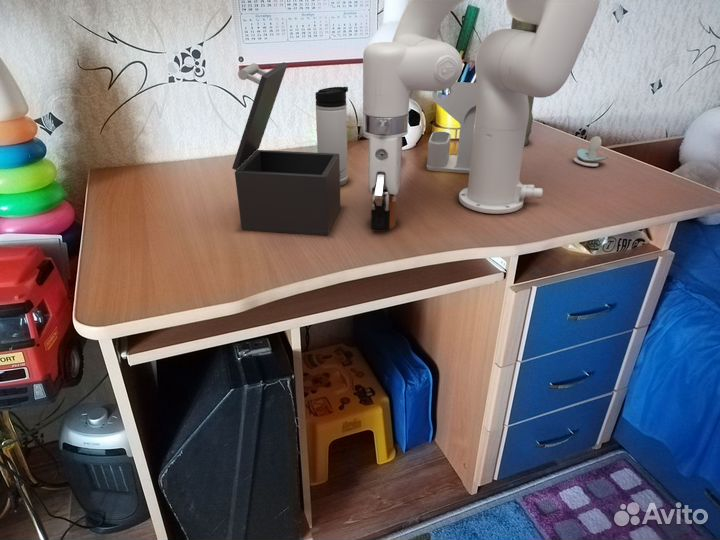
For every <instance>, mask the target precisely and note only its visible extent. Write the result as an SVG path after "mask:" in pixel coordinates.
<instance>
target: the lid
mask: <svg viewBox="0 0 720 540" xmlns="http://www.w3.org/2000/svg"><path fill="white" fill-rule="evenodd" d="M288 65H289V64H288V63H286V62H284V61H283V62H282V63H280V64H278V65H277V66H275V67H273V68H272V69H270V70H269V71H266V70H263V69H262V68H260V66H259V64H257V63H255V62H252V63H251V64H249V65H247V66H245V67H243V68H242V69H240V70H238V72H237V75H238V78H239V80H242V81H245V80H246V81H247V80H249V81H251V82H252V83H254V84H257V85H258V86H257V88H256V92H255V95H254V99H253V101H252V105H251V108H250V111H249V114H248V118H247V119H246V124H245V127H244V130H243V132H242V136H241V139H240V142H239V145H238V149H237V151H236V154H235V158H234V161H233V164H232V166H231V170H234V171H236V170H237V169H238V168H239V167H240V166H241V165H242V164H243V163H244V162H245V161H246V160H247V159H249V158H250V157H251V156H252V155H253V154H254V153H255V152H256V151H257V150H260V146H261V143H262V142H263V141H262V140H263V137H264V135H265V132H266V129H267V126H268V123H269V120H270V117H271V114H272V112H273V109H274V105H275V103H276V100H277V97H278V94H279V91H280V88H281V85H282V82H283V79H284V77H285V74H286V70H287V68H288ZM256 74H257V75H260V78H259V77H256V76H255V75H256Z"/></svg>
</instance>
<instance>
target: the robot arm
mask: <svg viewBox="0 0 720 540" xmlns="http://www.w3.org/2000/svg"><path fill="white" fill-rule="evenodd" d="M463 2H466V0H409V1H408V3H407V4H406V6H405V8H404V10H403V12H402V14H401V16H400V20H399V21H398V25H397V27H396V30H395V32H394V35H393V38H392V41H380V42H379V41H378V42H373V43H370V44H367V46H365V48H364V50H363V53H362V55H363V56H362V134H364V135H365V136H366V137H367V136H368V190H369V191H368V192H369V193H370V194H371V195H372V197H373V202H372V201H371V203H372V209H371V210H370V211H371V213H370V229H371V230H372V231H379V232H380V231H381V232H389V231H390V229H389V228H390V209H388V208H389V196H390V195H391V196H394V197H395V198H396V196H397V195H398V194H399V191H400V187H401V183H402V178H403V177H402V174H403V171H402V169H403V168H402V166H403V165H402V163H403V161H402V160H403V137H405V136H406V135H408V134H409V109H410V92H411V91H420V92H421V91H422V92H433V91H437V92H440V91H445V90H448V89H449V87H451V86H452V85H453V84H455V83H456V82H458V80H459V79H460V76H461V75H462V71H463V59H462V57H461V54H460V52H459V51H458V50H457V48H455V47H454V46H453V45H451V44H449V43H447V42H445V41H441V40H438V39H435V37H436V34H437V32H438V30H439V28H440V26H441V25H442V23H443V21H445V18H447V16H448V15H449V14H450V13H451V12H452V11H453V10H454V9H455V8H456V7H457V6H459V5H461V4H462V3H463ZM505 2H506V10H507V12H508V14H509V15H510V16H511V18H515V19H516V20H518V21H521V22H525V23H530V24H536V25H539V27H538V29H537V32H536V33H533V32H530V31H524V30H517V29H511V28H502V29H497V30H493V31H492V32H491V33H489V34H488V35H486V37H484V38H483V40H482V41H481V43H480V44H479V46H478V48H477V51H476V56H475V64H474V66H475V67H474V69H475V81H476V82H475V83H477V104H476V116H475V124H474V134H473V143H472V153H471V162H470V172H469V173H468V181H467V182H468V183H467V187H465V188H463V189H461V190H460V192H459V194H458V201H459V203H460V204H461V205H462V206H463V207H465V208H467V209H468V210H472V211H473V212H474V211H475V212H478V213H482V214H490V215H500V214H504V215H505V214H510V213H515V212H517V211H519V210H521V209H522V208H523V206H524V202H525V198H532V199H542V197H543V192H544V190H543V188H541V187H535V184H523V183H522V182H521V180H520V174H521V168H522V162H523V155H524V149H525V148H524V147H525V145H524V143H525V136H526V130H527V125H528V118H529V102H528V96H527V95H529V96H532V97H534V98H539V99H540V98H541V99H542V98H543V99H544V98H547V97H551V96H553V95H555V94H556V93H558V91H559V90H560V89H561V88H562V87H563V86H564V85H565V83H566V82H567V80H568V79H569V77H570V76H571V73H572V71H573V70H574V67H575V64H576V63H577V61H578V59H579V58H578V57H579V56H580V53H581V51H582V48H583V46H584V44H585V41H586V39H587V37H588V34H589V32H590V31H591V30H590V29H591V27H592V25H593V23H594V21H595V18H596V15H597V13H598V10H599V8H600V4H601V0H506V1H505ZM383 196H386V201H385V199H383Z"/></svg>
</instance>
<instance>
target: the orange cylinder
mask: <svg viewBox="0 0 720 540" xmlns="http://www.w3.org/2000/svg"><path fill="white" fill-rule="evenodd" d="M383 199H385V201H386V196H383ZM372 202H373V196H372V197H371V204H370V205H371V209H372ZM388 209H390V228H389V230H390V229H393V228H394V227H395V226H396V214H397V212H396V211H397V198H396V196H395V197H394V196H391V195H390V196H389V208H388Z"/></svg>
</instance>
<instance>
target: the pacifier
mask: <svg viewBox="0 0 720 540" xmlns="http://www.w3.org/2000/svg"><path fill="white" fill-rule="evenodd" d="M601 147H602V139H601V137H600V136H597V135H596V136H593V137H592V138H591V139H590V140H589V142H588V149H589V150H587V149H585V148H579V149H578V150H577V152H576V154H577V156H576V157H574V158H573V162H574V163H576V164H578V165H582V166H584V167H585V166H586V167H591V168H594V167H598V166H599V165H600V164H599V162H601V161H605V160H607V159H608V158H609V156H606V157H605V156H604V157H603V156H602V157H597V156H598V152H599V149H600V148H601Z"/></svg>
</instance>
